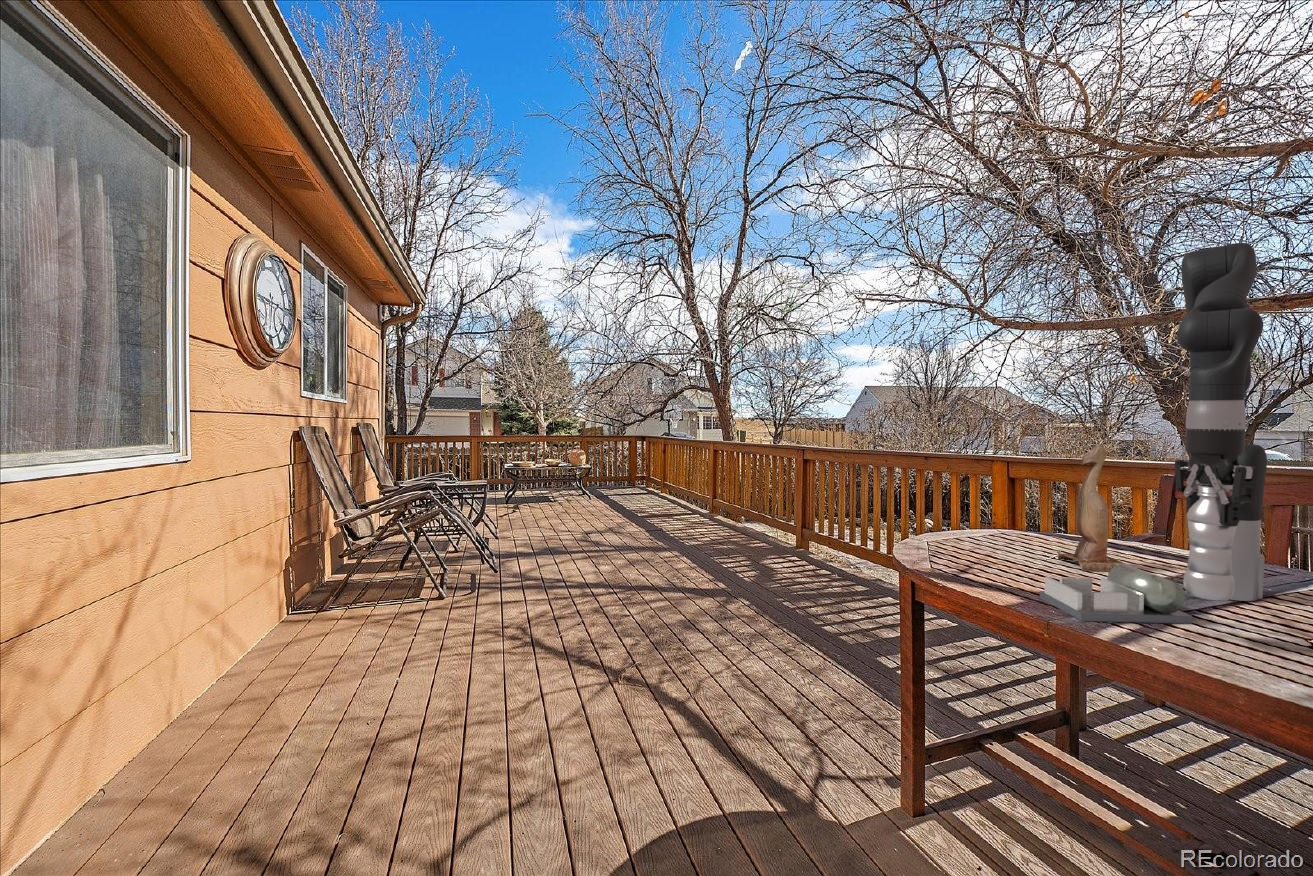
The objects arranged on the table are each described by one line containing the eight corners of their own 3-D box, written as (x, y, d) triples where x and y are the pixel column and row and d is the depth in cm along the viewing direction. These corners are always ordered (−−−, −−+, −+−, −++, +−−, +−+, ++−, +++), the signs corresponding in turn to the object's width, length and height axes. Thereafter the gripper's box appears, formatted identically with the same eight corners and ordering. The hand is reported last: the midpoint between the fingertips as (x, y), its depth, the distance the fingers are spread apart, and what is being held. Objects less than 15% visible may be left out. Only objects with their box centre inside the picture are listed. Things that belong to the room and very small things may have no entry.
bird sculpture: (1054, 562, 159) (1054, 443, 157) (1099, 561, 159) (1100, 442, 157) (1082, 573, 148) (1083, 446, 146) (1130, 572, 148) (1132, 445, 146)
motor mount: (1137, 600, 126) (1139, 563, 126) (1191, 623, 112) (1193, 582, 112) (1039, 597, 128) (1040, 561, 127) (1081, 621, 114) (1082, 580, 113)
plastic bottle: (1181, 590, 109) (1185, 482, 108) (1232, 597, 104) (1237, 485, 103) (1183, 599, 104) (1187, 486, 103) (1237, 607, 100) (1242, 489, 98)
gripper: (1278, 428, 95) (1274, 530, 96) (1202, 425, 109) (1199, 514, 110) (1228, 428, 96) (1224, 530, 97) (1159, 425, 110) (1156, 514, 111)
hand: (1211, 521), depth 103 cm, fingers closed on plastic bottle, 6 cm apart
